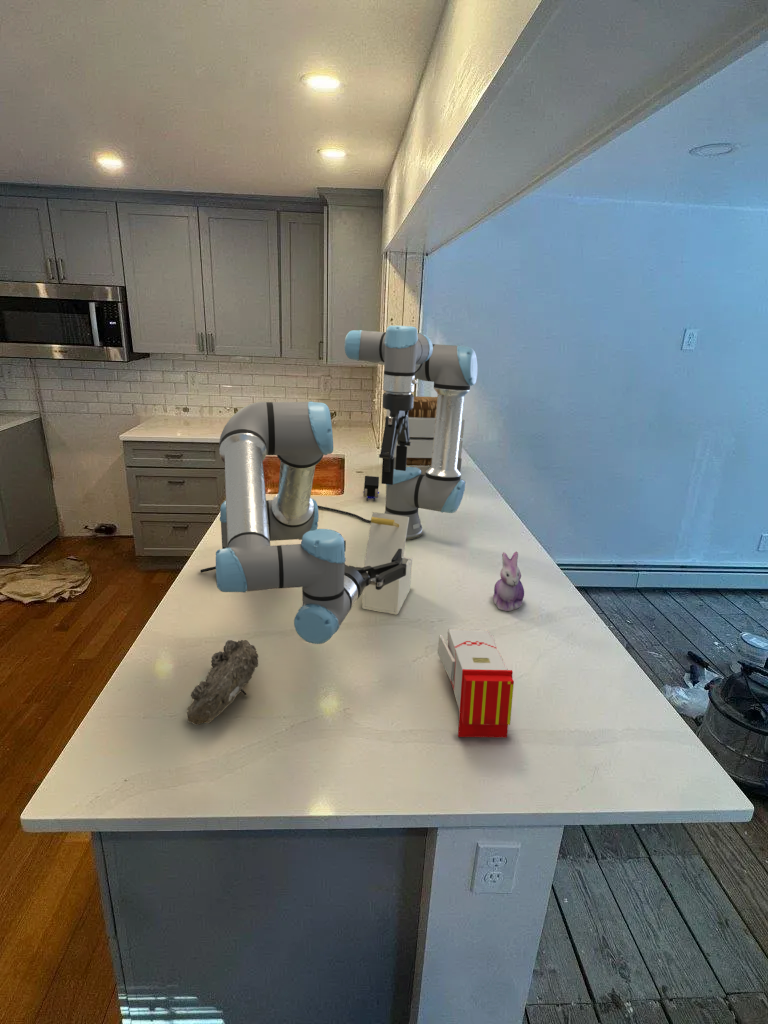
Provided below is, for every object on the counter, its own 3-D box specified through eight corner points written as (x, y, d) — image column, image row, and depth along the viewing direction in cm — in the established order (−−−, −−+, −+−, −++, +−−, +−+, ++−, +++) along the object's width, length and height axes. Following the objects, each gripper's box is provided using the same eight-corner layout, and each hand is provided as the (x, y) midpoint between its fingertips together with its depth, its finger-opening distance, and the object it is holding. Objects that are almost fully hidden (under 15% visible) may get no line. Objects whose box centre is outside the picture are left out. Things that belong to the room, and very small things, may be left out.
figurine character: (379, 506, 231) (378, 490, 244) (379, 489, 227) (379, 474, 241) (362, 505, 230) (363, 490, 244) (363, 488, 227) (363, 474, 240)
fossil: (208, 642, 124) (257, 611, 119) (238, 671, 127) (287, 641, 122) (164, 718, 104) (221, 685, 99) (200, 750, 107) (257, 719, 102)
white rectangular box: (373, 512, 148) (365, 508, 139) (409, 517, 146) (402, 513, 137) (364, 572, 146) (354, 571, 138) (399, 578, 144) (392, 577, 136)
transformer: (382, 463, 289) (386, 382, 275) (445, 464, 293) (451, 384, 279) (390, 482, 257) (394, 392, 243) (460, 483, 261) (468, 394, 247)
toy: (488, 613, 130) (523, 677, 101) (484, 667, 133) (517, 744, 104) (435, 612, 130) (455, 676, 101) (432, 666, 133) (451, 743, 103)
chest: (377, 584, 163) (379, 553, 160) (410, 589, 161) (412, 558, 157) (362, 608, 149) (363, 575, 146) (397, 614, 147) (399, 580, 144)
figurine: (506, 615, 149) (513, 563, 144) (482, 598, 157) (488, 548, 152) (534, 608, 153) (541, 558, 148) (509, 592, 161) (516, 543, 156)
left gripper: (283, 596, 117) (321, 556, 136) (400, 617, 111) (423, 572, 130) (283, 563, 114) (321, 527, 134) (403, 583, 108) (425, 542, 128)
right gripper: (401, 401, 125) (396, 492, 132) (424, 387, 148) (418, 466, 155) (368, 398, 127) (365, 488, 134) (396, 385, 150) (392, 463, 157)
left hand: (371, 549), depth 132 cm, fingers open, 13 cm apart
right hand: (394, 476), depth 145 cm, fingers open, 13 cm apart
